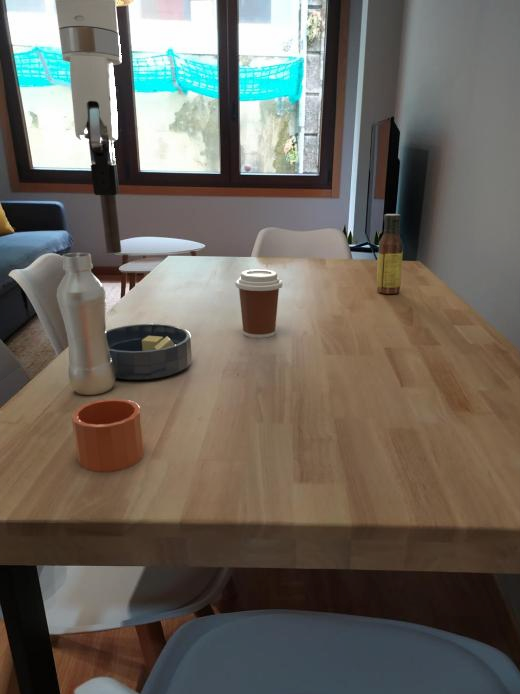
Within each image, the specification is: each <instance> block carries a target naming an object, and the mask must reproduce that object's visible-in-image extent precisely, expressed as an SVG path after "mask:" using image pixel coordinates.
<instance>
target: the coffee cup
mask: <svg viewBox="0 0 520 694" xmlns="http://www.w3.org/2000/svg"><path fill="white" fill-rule="evenodd" d="M235 288H237V289H238V293H239V302H240V312H241V313H240V314H241V321H242V322H241V323H242V333H243V335H244V336H245V337H249V338H254V339H255V338H256V339H257V338H258V339H262V338H269V337H273V336H275V334H276V325H277V315H278V314H277V313H278V305H279V304H278V303H279V294H280V293H279V292H280V289H281V288H283V280H281V279H280V278H279V277H278V273H277V272H276V271H274V270H269V269H249V270H248V269H247V270H244V271H242V272H241V273H240V277H239V278H238V279H237V280H236V281H235Z"/></svg>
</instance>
